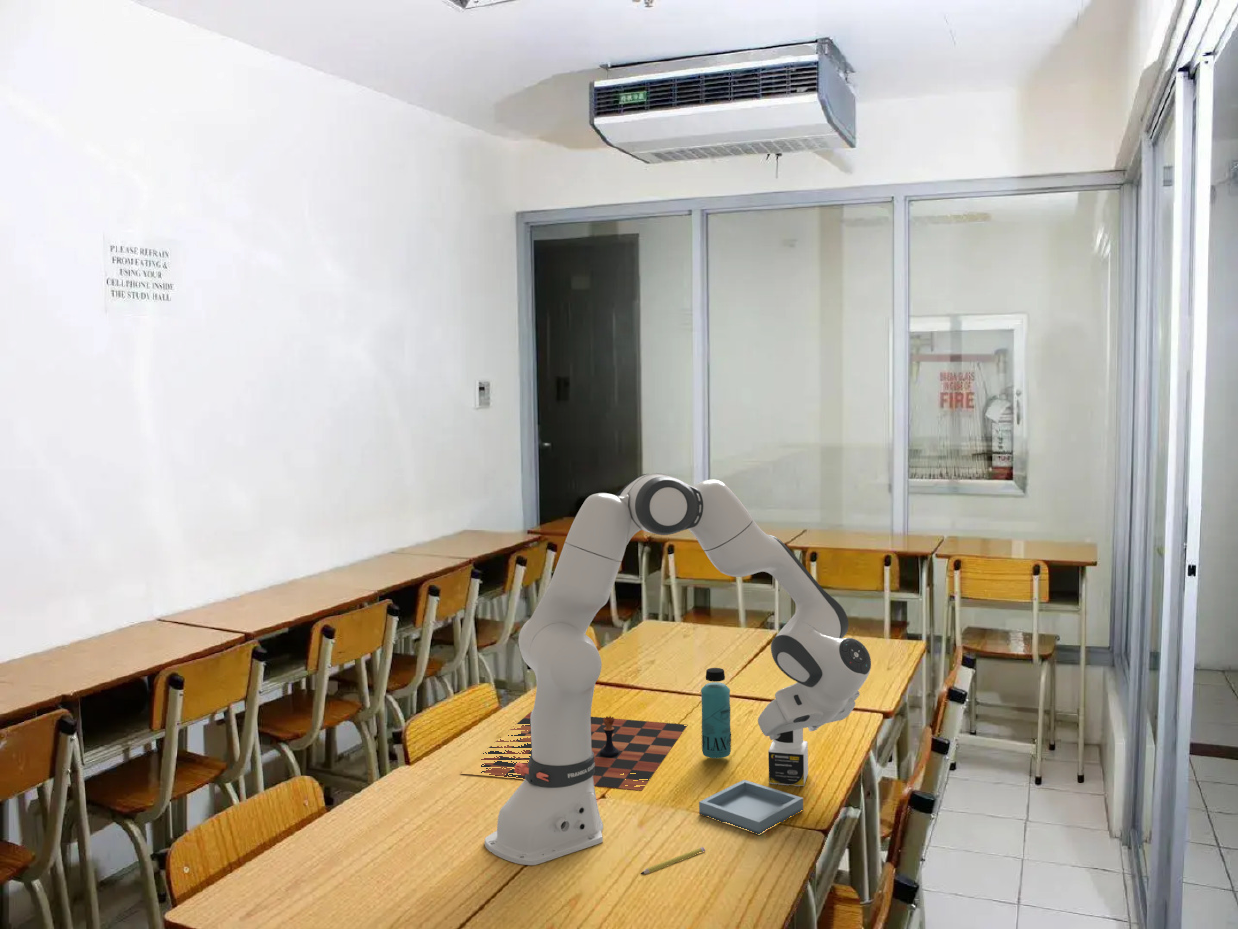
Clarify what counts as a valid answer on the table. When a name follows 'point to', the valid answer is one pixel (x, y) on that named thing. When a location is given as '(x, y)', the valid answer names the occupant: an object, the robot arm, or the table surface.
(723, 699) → the beverage bottle
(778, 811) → the tray
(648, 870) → the pencil
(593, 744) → the chessboard
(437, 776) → the table surface
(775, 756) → the medicine bottle
